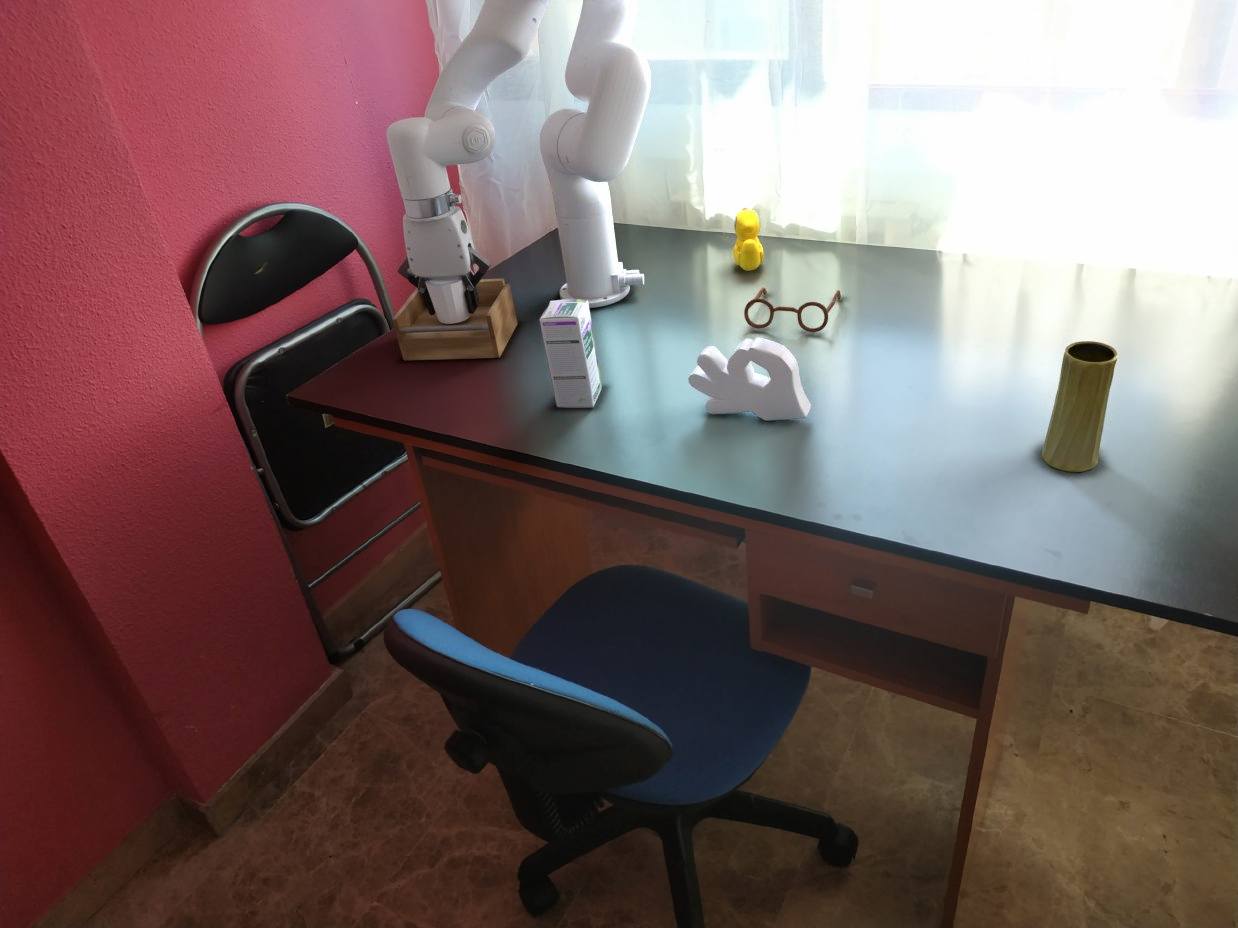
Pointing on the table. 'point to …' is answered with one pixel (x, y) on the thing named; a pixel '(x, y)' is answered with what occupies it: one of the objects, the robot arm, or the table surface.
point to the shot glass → (448, 298)
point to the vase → (1080, 407)
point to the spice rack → (458, 327)
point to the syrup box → (571, 353)
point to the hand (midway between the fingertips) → (453, 310)
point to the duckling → (747, 240)
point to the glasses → (799, 311)
